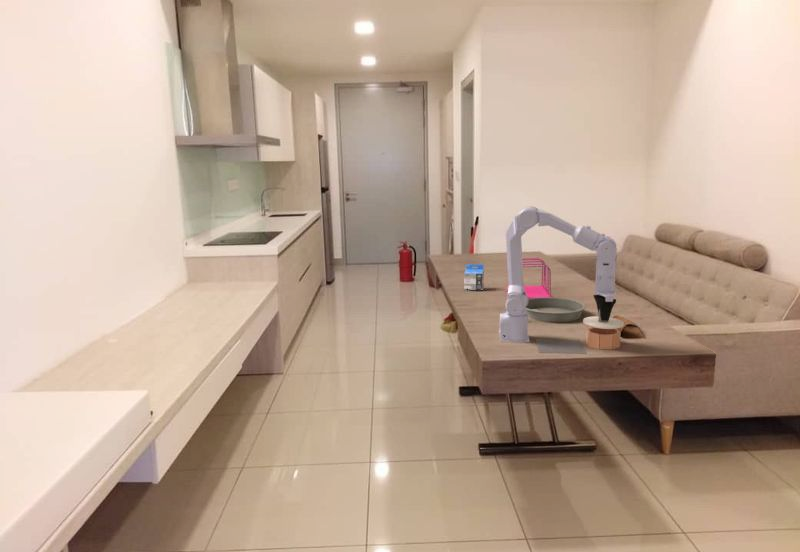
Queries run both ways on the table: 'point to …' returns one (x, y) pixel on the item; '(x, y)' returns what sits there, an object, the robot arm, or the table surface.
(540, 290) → the file sorter
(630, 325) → the sunglasses case
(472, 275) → the label tape box
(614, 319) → the lid
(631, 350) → the table surface
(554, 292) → the table surface
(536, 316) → the cake pan
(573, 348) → the mat
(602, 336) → the bowl
